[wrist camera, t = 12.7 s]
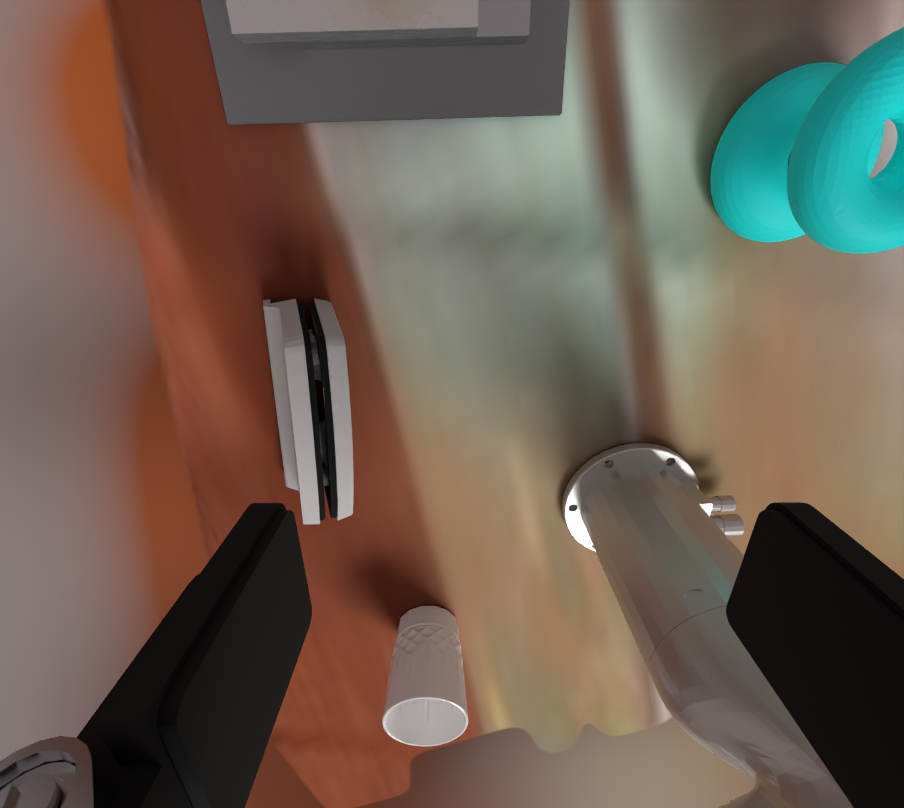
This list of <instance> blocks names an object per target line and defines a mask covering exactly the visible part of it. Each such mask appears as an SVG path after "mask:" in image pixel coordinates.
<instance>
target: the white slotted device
mask: <svg viewBox="0 0 904 808" xmlns="http://www.w3.org/2000/svg"><path fill="white" fill-rule="evenodd" d="M263 308H264V316H265V324H266V332H267V340H268V348H269V356H270V364H271V372H272V380H273V388H274V396H275V404H276V412H277V420H278V428H279V435H280V443H281V451H282V459H283V467H284V475H285V483H286V486H287V487H289V488H292V489H295V490H298V491H299V492H300V498H301V507H302V516H303V524H320V520H325V499H324V488H325V493H326V497H327V502H328V506H329V511H330V516H331V518H335V517H336V519H337V521H338V520H340V519H343V518H345V517H347V516H350V515H352V514H353V445H352V425H351V410H350V395H349V382H348V371H347V359H346V348H345V341H344V336H343V333H342V331H341V328H340V325H339V323H338V320H337V317H336V315H335V312H334V309H333V306H332V304H331V302H329V301H325V300H320V299H314V303H309V309H310V322H311V329H310V330H308V326H307V321H306V317H305V312H304V308H303V304H297V302H296V299H291V300H286V301H281V302H275V303H271V302H270V299H268V300H263ZM315 380H319V381H321V382H322V393H323V407H324V419H323V420H322V421H320V422H319V419H318V408H317V397H316V386H315ZM322 463H324V464H325V466H322Z"/></svg>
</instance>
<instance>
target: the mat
mask: <svg viewBox="0 0 904 808" xmlns="http://www.w3.org/2000/svg"><path fill="white" fill-rule="evenodd" d="M201 5H202V9H203V14H204V18H205V23H206V27H207V32H208V37H209V41H210V46H211V50H212V55H213V59H214V64H215V69H216V73H217V78H218V82H219V87H220V92H221V96H222V101H223V105H224V110H225V114H226V119H227V124H230V125H243V124H277V123H310V122H343V121H377V120H410V119H444V118H477V117H511V116H544V115H560V114H561V113H562V99H563V84H564V70H565V56H566V41H567V27H568V13H569V0H531V6H530V32H529V37H528V39H527V41H526V43H525V44H520V45H484V46H449V47H413V48H378V49H342V50H306V51H305V49H304V48H303V47H302V46H301V45H300V44H299V43H298V42H278V43H243V42H242V41H240V40H239V39H238V38H237V37H235V36H234V35H233V34H232V31H231V26H230V21H229V15H228V10H227V5H226V0H201Z"/></svg>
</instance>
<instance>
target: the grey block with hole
mask: <svg viewBox="0 0 904 808" xmlns="http://www.w3.org/2000/svg"><path fill="white" fill-rule="evenodd" d="M226 5H227V10H228V15H229V21H230V26H231V31H232V34H233V35H234V36H235V37H237V38H238V39H239V40H240V41H242V42H243V43H278V42H298V43H299V44H300V45H301V46H302V47H303V48H304V49H305V51H306V50H342V49H378V48H413V47H449V46H484V45H520V44H525V43H526V41H527V39H528V37H529V32H530V6H531V0H226Z"/></svg>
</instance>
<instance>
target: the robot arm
mask: <svg viewBox="0 0 904 808" xmlns="http://www.w3.org/2000/svg"><path fill="white" fill-rule="evenodd" d="M735 509H736V501H735V499H734V498H733V497H732V496H715V497H708V496H707V495H705V494H703V493H702V492H701V491H700V490H699V485H698V479H697V477H696V474H695V472H694V470H693V469H692V468H691V466H690V465H689V464H688V463H687V462H686V461H685V460H684V459H683V458H682V457H681V456H680V455H679V454H678V453H676V452H674V451H673V450H671V449H669V448H666V447H663V446H660V445H657V444H649V443H631V444H626V445H621V446H617V447H614V448H611V449H609V450H606V451H604V452H602V453H600V454H598V455H596V456H595V457H593V458H592V459H590V460H589V461H588V462H586V463H585V464H584V465H582V467H581V468H580V469H579V470H578V471H577V472H576V473H575V474H574V475H573V477H572V478H571V480H570V481H569V483H568V484H567V487H566V489H565V492H564V494H563V500H562V514H563V517H564V520H565V523H566V526H567V528H568V530H569V532H570V534H571V535H572V536H573V537H574V538H575V540H576V541H578V542H579V543H580V544H582V545H583V546H584V547H586V548H588V549H590V550H592V551H596V554H597V556H598V558H599V560H600V563H601V565H602V567H603V569H604V572H605V574H606V576H607V578H608V581H609V583H610V585H611V587H612V590H613V592H614V594H615V596H616V599H617V601H618V603H619V605H620V608H621V610H622V612H623V614H624V617H625V619H626V621H627V623H628V626H629V628H630V630H631V632H632V635H633V637H634V639H635V641H636V644H637V646H638V648H639V650H640V653H641V655H642V657H643V659H644V662H645V664H646V666H647V668H648V671H649V673H650V675H651V677H652V679H653V682H654V684H655V686H656V688H657V690H658V693H659V695H660V697H661V699H662V701H663V703H664V704H665V706H666V708H667V709H668V711H669V712H670V714H671V715H672V717H673V718H674V719H675V720H676V721H677V723H678V724H679V725H680V726H681V727H682V729H683V730H684V731H685V732H686V733H688V734H689V735H690V736H691V737H692V738H693V739H694V740H696V741H697V742H698V743H699V744H701V745H702V746H703V747H705V748H706V749H707V750H709V751H710V752H712V753H713V754H714V755H716V756H718V757H719V758H721V759H722V760H724V761H726V762H727V763H729V764H730V765H732V766H733V767H735V768H737V769H738V770H740V771H742V772H743V773H745V774H746V775H748V776H750V777H752V778H753V779H755V781H756V784H755V786H754V788H753V789H752V790H751V791H750V792H749V793H747V794H745V795H742V796H740V797H738V798H736V799H734V800H731V801H730V802H729V803H728V804H725V805H722V806H719V807H717V808H904V579H903V578H901V577H900V576H899V575H898V574H896V573H895V572H894V571H893V570H891V569H890V568H889V567H888V566H886V565H885V564H884V563H883V562H881V561H880V560H879V559H878V558H876V557H875V556H874V555H873V554H871V553H870V552H869V551H868V550H866V549H865V548H864V547H863V546H861V545H860V544H859V543H858V542H856V541H855V540H854V539H853V538H851V537H850V536H849V535H848V534H846V533H845V532H844V531H843V530H841V529H840V528H839V527H838V526H836V525H835V524H834V523H833V522H831V521H830V520H829V519H828V518H826V517H825V516H824V515H823V514H821V513H820V512H819V511H818V510H816V509H815V508H814V507H812V506H811V505H809V504H806V503H771V504H770V505H768V506H767V507H766V509H765V510H764V511H762V512H760V513H759V515H758V518H757V520H756V523H755V526H754V529H753V532H752V535H751V538H750V540H749V543H748V546H747V549H746V552H745V555H744V556H743V554H742V553H741V552H740V551H739V550H738V549H737V547H736V546H735V545H734V544H733V543H732V542H731V540H730V539H729V538H728V537H727V536H740V535H742V534H743V532H744V523H743V520H742V519H741V517H740V516H739V515H737V514H726V515H714V516H710V513H711V511H718V512H722V511H735ZM311 616H312V606H311V600H310V595H309V590H308V584H307V579H306V574H305V568H304V563H303V558H302V553H301V547H300V542H299V537H298V532H297V526H296V521H295V516H294V513H293V512H292V511H291V510H286V508H285V506H284V505H283V504H282V503H253V504H251V505H250V506H249V507H248V508H247V509H246V511H245V512H244V513H243V515H242V516H241V518H240V519H239V520H238V522H237V523H236V525H235V526H234V527H233V529H232V530H231V531H230V533H229V534H228V536H227V537H226V538H225V540H224V541H223V543H222V544H221V545H220V547H219V548H218V550H217V551H216V552H215V554H214V555H213V557H212V558H211V559H210V561H209V562H208V564H207V565H206V566H205V568H204V569H203V570H202V572H201V573H200V574H199V575H197V576H195V578H194V579H193V580H192V581H191V582H190V583H189V584H188V586H187V587H186V588H185V590H184V591H183V593H182V594H181V595H180V597H179V598H178V600H177V601H176V602H175V604H174V605H173V607H172V608H171V609H170V610H169V612H168V613H167V614H166V616H165V618H164V619H163V620H162V621H161V623H160V624H159V625H158V627H157V628H156V630H155V631H154V633H153V634H152V635H151V637H150V638H149V639H148V641H147V642H146V643H145V645H144V646H143V647H142V649H141V650H140V652H139V653H138V654H137V656H136V657H135V658H134V660H133V661H132V662H131V664H130V665H129V667H128V668H127V669H126V671H125V672H124V673H123V675H122V676H121V678H120V679H119V680H118V682H117V683H116V685H115V686H114V687H113V689H112V690H111V691H110V693H109V694H108V696H107V697H106V698H105V700H104V701H103V702H102V704H101V705H100V707H99V708H98V709H97V710H96V712H95V713H94V715H93V716H92V717H91V719H90V720H89V721H88V723H87V724H86V726H85V727H84V728H83V730H82V731H81V732H80V734H79V735H78V737H77V738H75V737H65V736H59V737H54V738H49V739H45V740H40V741H38V742H36V743H34V744H31V745H29V746H27V747H25V748H22V749H20V750H18V751H16V752H14V753H13V754H11V755H9V756H8V757H6V758H5V759H3V760H2V761H0V808H245V805H246V802H247V800H248V797H249V794H250V791H251V788H252V785H253V783H254V780H255V777H256V774H257V772H258V769H259V766H260V763H261V760H262V758H263V755H264V752H265V749H266V746H267V744H268V741H269V738H270V735H271V732H272V730H273V727H274V724H275V721H276V718H277V716H278V713H279V710H280V707H281V704H282V702H283V699H284V696H285V693H286V690H287V688H288V685H289V682H290V679H291V676H292V674H293V671H294V668H295V665H296V662H297V660H298V657H299V654H300V651H301V648H302V646H303V643H304V640H305V637H306V634H307V632H308V629H309V626H310V622H311Z"/></svg>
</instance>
